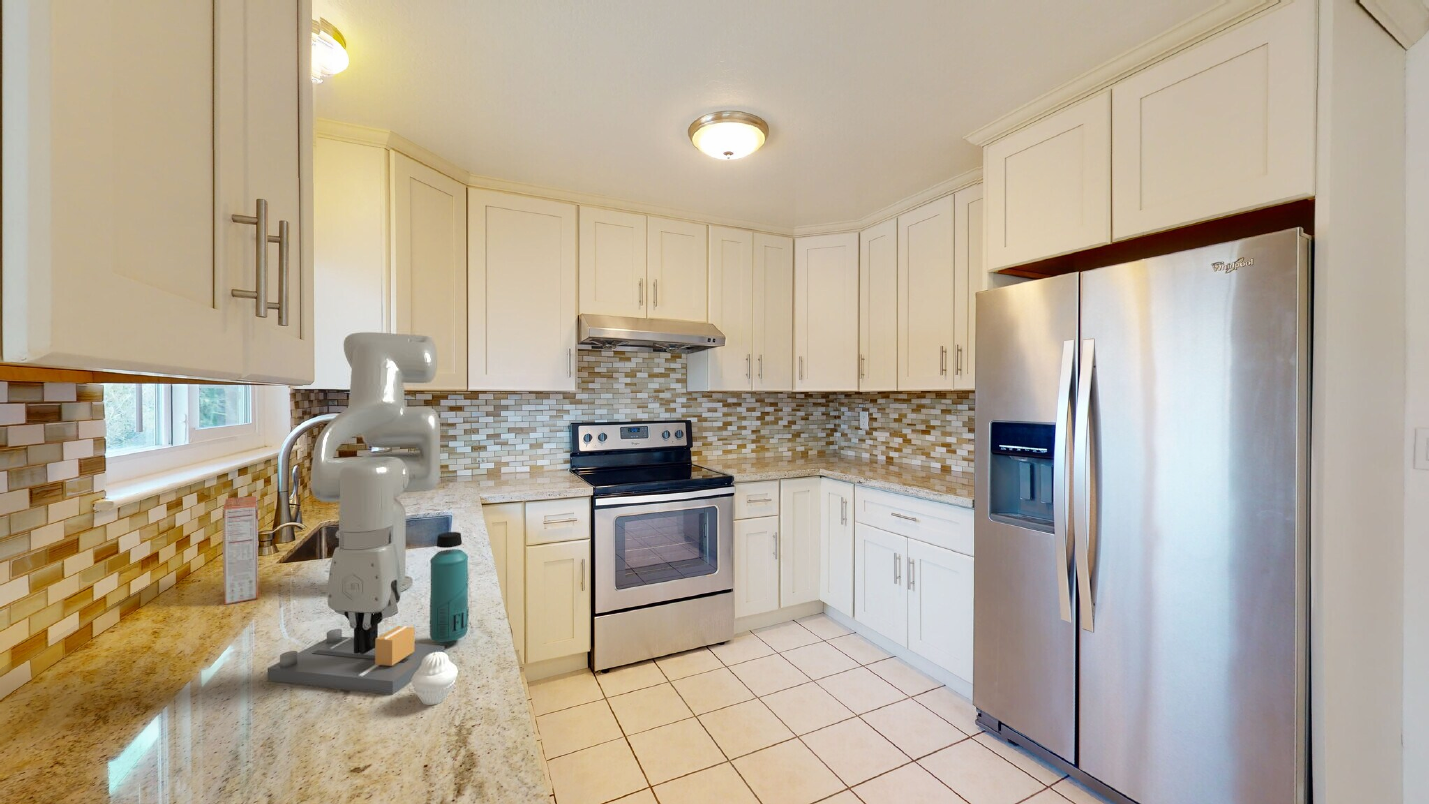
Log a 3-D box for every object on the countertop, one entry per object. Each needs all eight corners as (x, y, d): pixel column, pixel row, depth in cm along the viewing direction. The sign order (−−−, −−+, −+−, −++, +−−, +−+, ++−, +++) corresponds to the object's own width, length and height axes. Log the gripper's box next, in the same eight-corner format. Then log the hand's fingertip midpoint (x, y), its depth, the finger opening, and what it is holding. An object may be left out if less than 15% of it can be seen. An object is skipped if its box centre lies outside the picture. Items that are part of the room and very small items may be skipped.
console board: (267, 680, 86) (267, 657, 86) (332, 646, 98) (332, 626, 98) (392, 694, 82) (392, 670, 82) (444, 657, 94) (444, 636, 94)
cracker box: (223, 588, 127) (224, 497, 127) (257, 583, 131) (258, 495, 131) (221, 606, 116) (222, 507, 116) (258, 599, 120) (259, 504, 120)
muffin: (404, 700, 81) (404, 652, 81) (447, 684, 86) (447, 639, 86) (421, 716, 77) (421, 666, 77) (464, 698, 82) (465, 651, 82)
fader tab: (375, 664, 87) (375, 637, 87) (398, 649, 92) (398, 624, 92) (392, 665, 86) (392, 639, 86) (414, 651, 91) (414, 626, 91)
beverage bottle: (453, 652, 96) (454, 538, 96) (419, 648, 98) (421, 536, 97) (476, 637, 103) (477, 530, 102) (445, 633, 104) (446, 528, 104)
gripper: (306, 541, 87) (305, 657, 87) (391, 546, 85) (389, 664, 85) (344, 530, 95) (343, 636, 95) (423, 535, 92) (422, 643, 93)
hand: (365, 649), depth 90 cm, fingers closed
